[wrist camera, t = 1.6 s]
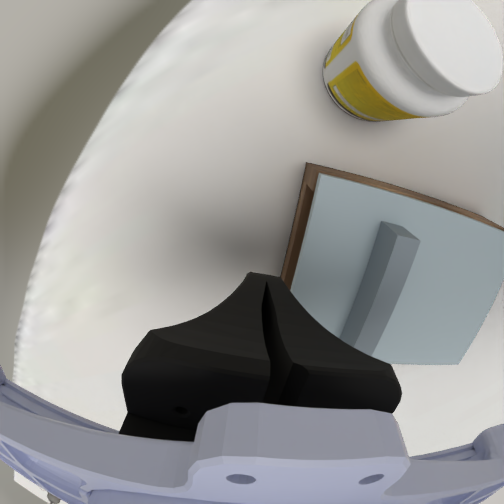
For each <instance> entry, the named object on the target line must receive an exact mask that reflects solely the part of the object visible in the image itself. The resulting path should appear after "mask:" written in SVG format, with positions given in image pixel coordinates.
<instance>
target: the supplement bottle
mask: <svg viewBox="0 0 504 504" xmlns="http://www.w3.org/2000/svg"><path fill="white" fill-rule="evenodd" d="M502 73H503V54H502V49H501V45H500V42H499V39H498V36H497V34H496V32H495V30H494V28H493V26H492V24H491V23H490V21H489V20H488V18H487V17H486V16H485V14H484V13H483V12H482V10H481V9H480V8H479V7H478V6H477V5H476V4H475V3H474V2H473V1H472V0H372V1H371V2H369V3H368V4H367V5H366V6H365V7H364V8H363V9H362V10H361V11H360V12H359V13H358V15H357V16H356V17H355V19H354V20H353V21H352V22H351V23H350V25H349V26H348V27H347V29H346V30H345V31H344V32H343V34H342V35H341V36H340V37H339V39H338V40H337V41H336V43H335V44H334V45H333V46H332V48H331V49H330V51H329V52H328V54H327V56H326V58H325V62H324V66H323V77H324V82H325V85H326V88H327V90H328V92H329V94H330V96H331V97H332V99H333V100H334V102H335V103H336V104H337V105H338V106H339V107H340V108H341V109H342V110H344V111H345V112H347V113H348V114H350V115H352V116H354V117H356V118H358V119H362V120H366V121H389V120H400V119H410V118H426V117H438V116H443V115H447V114H450V113H452V112H454V111H456V110H457V109H458V108H460V107H461V106H462V105H463V104H464V103H465V101H466V100H467V99H468V97H469V96H473V95H481V94H486V93H488V92H490V91H492V90H493V89H494V88H495V87H496V86H497V85H498V83H499V81H500V79H501V77H502Z"/></svg>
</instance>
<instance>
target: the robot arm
mask: <svg viewBox="0 0 504 504" xmlns="http://www.w3.org/2000/svg"><path fill="white" fill-rule="evenodd" d="M122 388H123V393H124V398H125V402H126V407H127V411H128V413H127V415H126V418H125V420H124V422H123V425H122V427H121V429H120V431H117V430H114V429H111V428H109V427H106V426H103V425H101V424H98V423H95V422H93V421H90V420H88V419H85V418H83V417H81V416H78V415H76V414H74V413H71V412H69V411H67V410H65V409H63V408H60V407H58V406H56V405H54V404H52V403H50V402H48V401H46V400H44V399H42V398H40V397H38V396H36V395H34V394H33V393H31V392H29V391H27V390H25V389H24V388H22V387H20V386H18V385H17V384H15V383H13V382H12V381H10V380H8V379H6V376H5V373H4V371H3V369H2V367H1V365H0V459H1V460H2V461H3V462H5V463H6V464H7V465H9V466H10V467H12V468H13V469H14V470H15V471H17V472H18V473H20V474H21V475H23V476H24V477H26V478H27V479H28V480H30V481H31V482H33V483H34V484H36V485H38V486H39V487H41V488H42V489H44V490H46V491H47V492H49V493H51V494H52V495H54V496H56V497H57V498H59V499H61V500H63V501H65V502H66V503H68V504H479V503H481V502H483V501H484V500H485V499H487V498H488V497H489V496H491V495H493V494H494V493H495V492H497V491H498V490H499V489H500V488H502V487H503V486H504V424H500V425H497V426H494V427H490V428H488V429H486V430H484V431H483V432H482V433H480V434H479V435H478V436H477V437H476V438H475V440H474V441H473V442H472V443H470V444H466V445H463V446H459V447H455V448H451V449H447V450H443V451H438V452H434V453H429V454H423V455H418V456H412V457H409V456H408V453H407V449H406V446H405V443H404V440H403V437H402V434H401V431H400V428H399V425H398V422H397V421H396V419H395V418H394V416H393V414H392V413H393V412H394V411H395V409H396V408H397V406H398V404H399V402H400V400H401V395H402V391H401V387H400V384H399V382H398V379H397V377H396V375H395V372H394V370H393V368H392V366H391V364H389V363H386V362H384V361H381V360H379V359H377V358H374V357H372V356H369V355H367V354H365V353H363V352H361V351H359V350H358V349H356V348H354V347H352V346H350V345H349V344H347V343H345V342H344V341H342V340H341V339H339V338H338V337H336V336H335V335H334V334H332V333H331V332H329V331H328V330H327V329H326V328H324V327H323V326H322V325H321V324H320V323H319V322H318V321H316V320H315V319H314V318H313V317H312V316H311V315H310V314H309V313H308V312H307V311H306V309H305V308H304V307H303V306H302V305H301V304H300V303H299V301H298V300H297V299H296V298H295V296H294V295H293V294H292V292H291V291H290V290H289V288H288V287H287V286H286V284H285V283H284V281H283V280H282V279H281V277H276V276H270V275H265V274H259V273H253V272H249V273H248V274H247V275H246V277H245V279H244V280H243V282H242V283H241V284H240V285H239V287H238V288H237V289H236V290H235V291H234V292H233V293H232V294H231V295H230V296H229V297H228V298H226V299H225V300H224V301H223V302H222V303H220V304H219V305H218V306H216V307H215V308H213V309H212V310H210V311H209V312H207V313H205V314H203V315H201V316H199V317H197V318H195V319H192V320H190V321H187V322H184V323H181V324H178V325H174V326H169V327H164V328H159V329H154V330H150V331H149V332H148V333H147V335H146V336H145V337H144V338H143V339H142V341H141V342H140V343H139V345H138V346H137V347H136V348H135V350H134V352H133V353H132V355H131V357H130V359H129V361H128V363H127V365H126V367H125V369H124V371H123V373H122Z"/></svg>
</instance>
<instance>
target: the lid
mask: <svg viewBox="0 0 504 504" xmlns="http://www.w3.org/2000/svg"><path fill="white" fill-rule="evenodd" d="M503 280H504V231H502V230H500V229H497V228H495V227H492V226H490V225H487V224H485V223H482V222H480V221H477V220H475V219H472V218H469V217H467V216H464V215H461V214H459V213H456V212H453V211H450V210H447V209H445V208H442V207H439V206H436V205H433V204H430V203H427V202H424V201H421V200H417V199H414V198H411V197H408V196H405V195H401V194H398V193H395V192H391V191H388V190H384V189H381V188H377V187H374V186H370V185H366V184H363V183H359V182H355V181H351V180H347V179H343V178H339V177H335V176H331V175H327V174H322V173H319V175H318V179H317V184H316V188H315V192H314V197H313V201H312V206H311V210H310V214H309V218H308V222H307V227H306V231H305V235H304V239H303V243H302V247H301V251H300V255H299V259H298V263H297V266H296V270H295V274H294V278H293V282H292V285H291V289H290V291H291V292H292V294H293V295H294V296H295V298H296V299H297V300H298V301H299V303H300V304H301V305H302V306H303V307H304V308H305V309H306V311H307V312H308V313H309V314H310V315H311V316H312V317H313V318H314V319H315V320H316V321H318V322H319V323H320V324H321V325H322V326H323V327H324V328H326V329H327V330H328V331H329V332H331V333H332V334H334V335H335V336H336V337H338V338H339V339H341V340H342V341H344V342H345V343H347V344H349V345H350V346H352V347H354V348H356V349H358V350H359V351H361V352H363V353H365V354H367V355H369V356H372V357H374V358H377V359H379V360H381V361H384V362H386V363H389V364H417V365H454V364H459V363H460V361H461V360H462V358H463V356H464V355H465V353H466V352H467V350H468V348H469V347H470V345H471V343H472V342H473V340H474V338H475V336H476V335H477V333H478V331H479V329H480V327H481V326H482V324H483V322H484V320H485V318H486V316H487V314H488V312H489V310H490V308H491V306H492V304H493V302H494V300H495V298H496V296H497V294H498V291H499V289H500V287H501V285H502V282H503Z"/></svg>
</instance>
